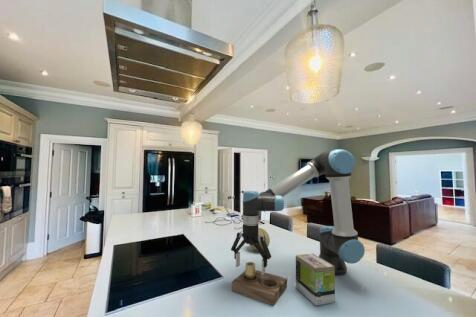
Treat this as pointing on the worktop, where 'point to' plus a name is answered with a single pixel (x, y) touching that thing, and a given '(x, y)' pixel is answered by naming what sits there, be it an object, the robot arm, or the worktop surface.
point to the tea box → (315, 278)
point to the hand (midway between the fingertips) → (250, 269)
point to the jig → (261, 286)
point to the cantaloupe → (262, 233)
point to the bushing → (250, 271)
